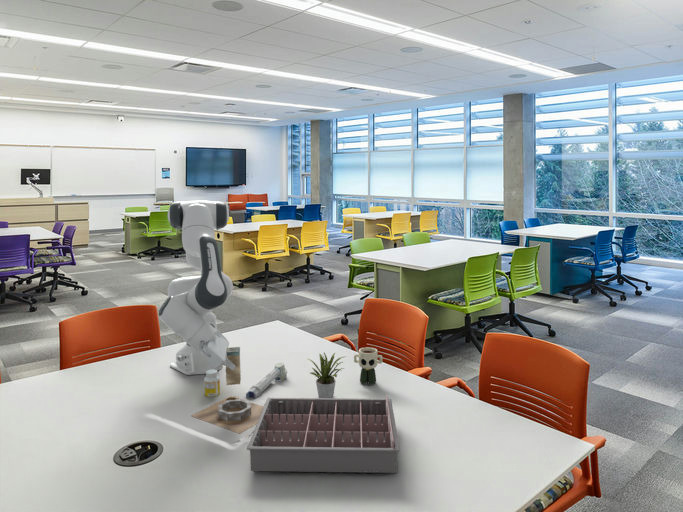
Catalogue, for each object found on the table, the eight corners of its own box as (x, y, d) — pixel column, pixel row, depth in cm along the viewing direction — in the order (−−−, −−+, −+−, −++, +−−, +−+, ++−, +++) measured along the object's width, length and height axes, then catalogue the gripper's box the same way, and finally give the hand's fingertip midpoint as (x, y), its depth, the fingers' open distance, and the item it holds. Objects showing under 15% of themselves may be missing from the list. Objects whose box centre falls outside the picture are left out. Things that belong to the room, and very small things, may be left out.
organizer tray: (268, 420, 164) (267, 391, 163) (390, 422, 163) (391, 392, 162) (247, 477, 133) (246, 441, 131) (399, 479, 132) (400, 443, 130)
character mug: (353, 385, 191) (353, 353, 189) (354, 378, 198) (354, 346, 196) (381, 387, 190) (382, 354, 188) (382, 379, 197) (382, 347, 195)
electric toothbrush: (243, 390, 179) (277, 357, 201) (245, 406, 181) (278, 372, 203) (256, 392, 177) (288, 359, 199) (258, 409, 179) (290, 374, 201)
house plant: (357, 397, 181) (357, 353, 179) (330, 410, 171) (329, 364, 169) (328, 386, 191) (328, 344, 188) (301, 397, 181) (301, 354, 178)
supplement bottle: (210, 401, 178) (209, 375, 177) (201, 397, 182) (200, 371, 180) (223, 396, 182) (222, 371, 181) (214, 392, 186) (213, 367, 184)
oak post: (226, 385, 162) (224, 352, 161) (227, 379, 167) (225, 347, 165) (240, 384, 163) (239, 351, 161) (240, 378, 167) (239, 347, 166)
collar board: (190, 419, 165) (190, 408, 164) (230, 399, 180) (230, 389, 179) (240, 437, 153) (239, 426, 153) (278, 414, 168) (278, 403, 168)
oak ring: (220, 403, 174) (220, 400, 174) (231, 397, 178) (231, 395, 178) (231, 406, 171) (231, 404, 171) (242, 401, 175) (242, 398, 175)
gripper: (206, 340, 151) (240, 369, 154) (212, 321, 171) (242, 347, 174) (191, 355, 151) (226, 384, 154) (199, 334, 171) (229, 360, 174)
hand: (234, 364), depth 164 cm, fingers closed on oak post, 4 cm apart
